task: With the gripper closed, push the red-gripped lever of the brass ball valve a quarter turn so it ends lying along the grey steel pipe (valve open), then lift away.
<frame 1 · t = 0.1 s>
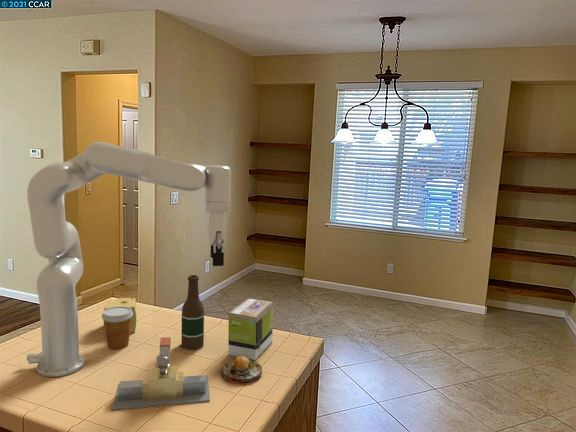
hand: (216, 261, 133), 31 cm above the counter, tool pointing down, fingers open, 9 cm apart
tea box: (250, 349, 144), on the counter
valve: (163, 394, 115), resting on mat
beer bottle: (192, 345, 145), on the counter
plate of food: (241, 375, 128), on the counter
mat: (163, 394, 115), on the counter
disposable coffee cup: (118, 346, 142), on the counter
cheese: (121, 329, 155), on the counter
lever: (164, 351, 119), point 10 cm above the counter, hinge at 90.0°
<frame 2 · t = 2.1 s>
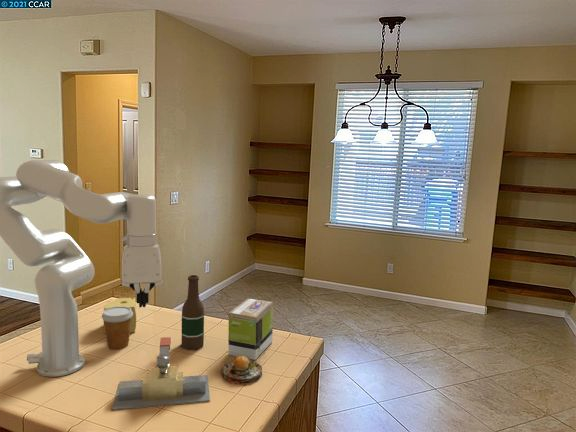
hand: (142, 305, 119), 22 cm above the counter, tool pointing down, fingers closed
nothing on the counter moved.
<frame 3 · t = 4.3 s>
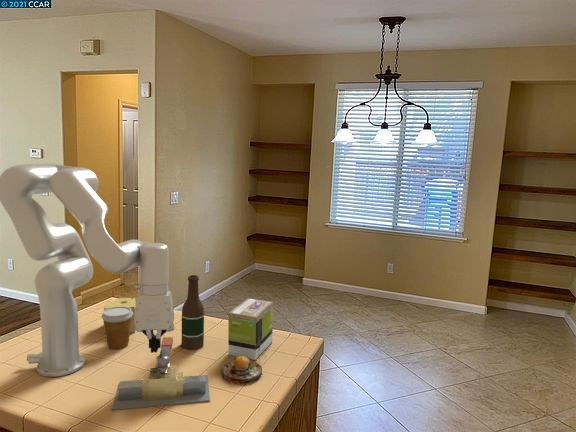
hand: (154, 350, 122), 9 cm above the counter, tool pointing down, fingers closed
lever: (165, 351, 119), point 10 cm above the counter, hinge at 87.2°, touching gripper
everything else where it was.
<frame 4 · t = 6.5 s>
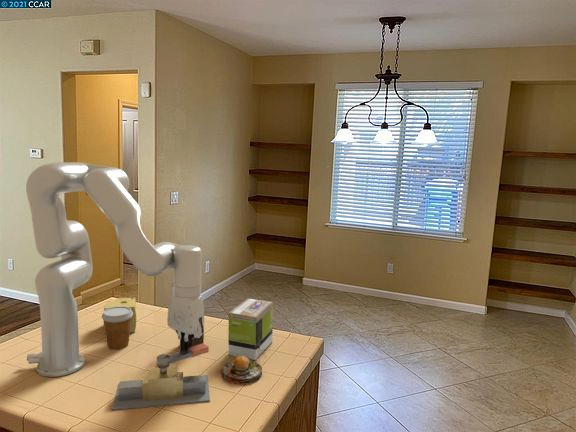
hand: (185, 352, 122), 8 cm above the counter, tool pointing down, fingers closed
lever: (182, 355, 118), point 10 cm above the counter, hinge at 29.7°, touching gripper
everything else where it was.
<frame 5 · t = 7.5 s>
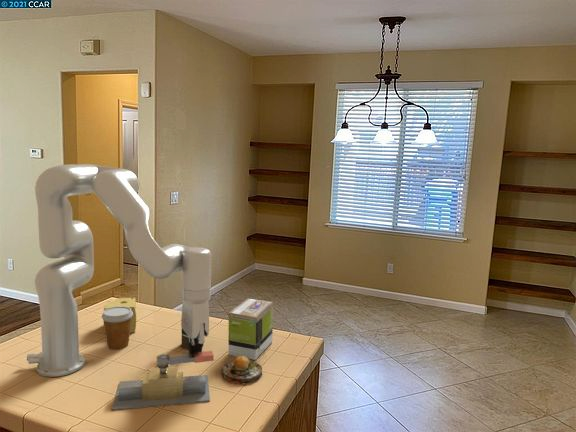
hand: (195, 356, 120), 8 cm above the counter, tool pointing down, fingers closed
lever: (185, 358, 116), point 10 cm above the counter, hinge at 5.7°, touching gripper
everything else where it was.
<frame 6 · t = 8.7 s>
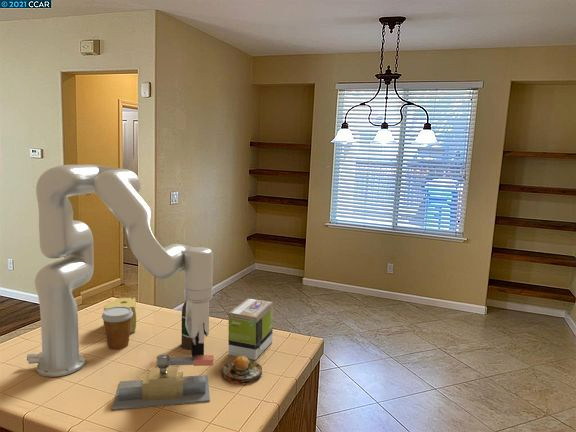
hand: (197, 355, 120), 8 cm above the counter, tool pointing down, fingers closed
lever: (185, 360, 114), point 10 cm above the counter, hinge at -5.7°
everything else where it was.
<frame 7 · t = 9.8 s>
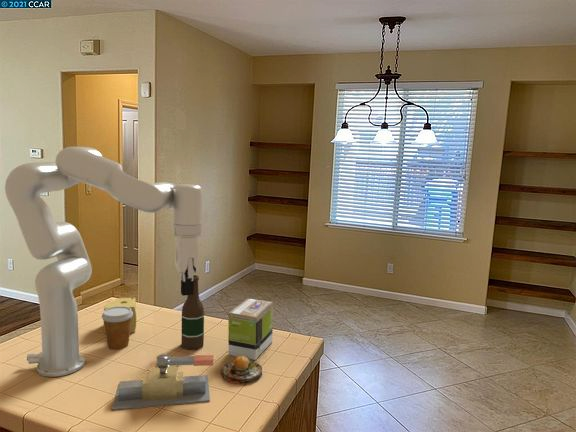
hand: (187, 294, 120), 25 cm above the counter, tool pointing down, fingers closed
nothing on the counter moved.
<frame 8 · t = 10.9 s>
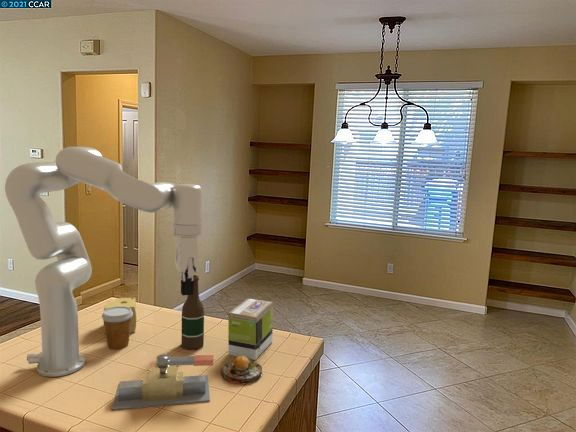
hand: (187, 294, 120), 25 cm above the counter, tool pointing down, fingers closed
nothing on the counter moved.
at the end: lever at -6° (first picture: +90°) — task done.
